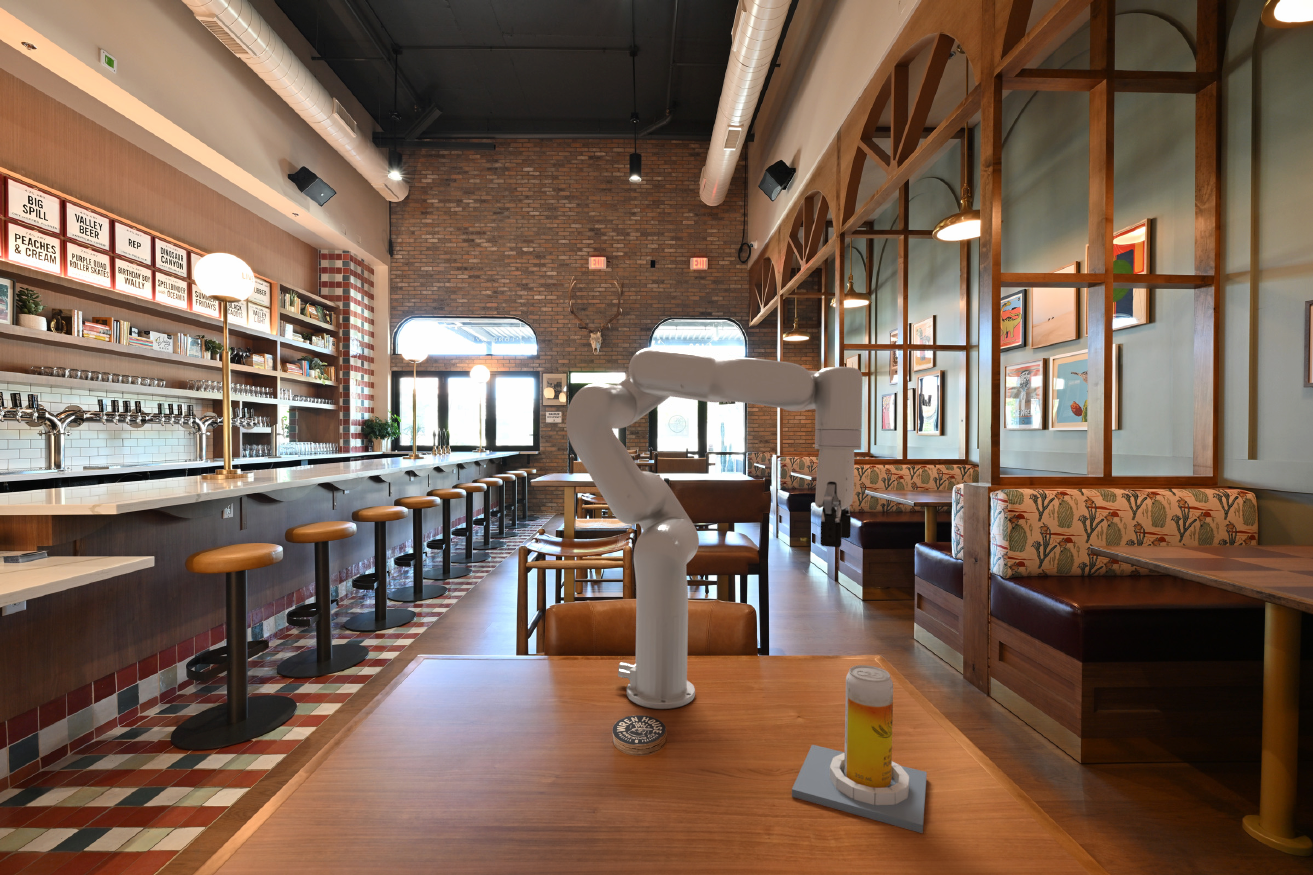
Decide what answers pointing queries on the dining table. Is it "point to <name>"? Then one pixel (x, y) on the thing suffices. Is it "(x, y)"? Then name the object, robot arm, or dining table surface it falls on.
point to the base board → (862, 790)
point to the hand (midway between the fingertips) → (835, 541)
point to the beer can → (868, 726)
